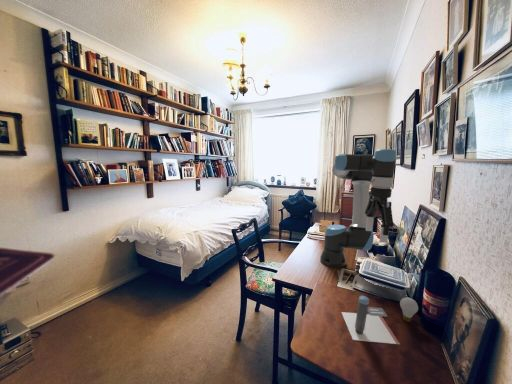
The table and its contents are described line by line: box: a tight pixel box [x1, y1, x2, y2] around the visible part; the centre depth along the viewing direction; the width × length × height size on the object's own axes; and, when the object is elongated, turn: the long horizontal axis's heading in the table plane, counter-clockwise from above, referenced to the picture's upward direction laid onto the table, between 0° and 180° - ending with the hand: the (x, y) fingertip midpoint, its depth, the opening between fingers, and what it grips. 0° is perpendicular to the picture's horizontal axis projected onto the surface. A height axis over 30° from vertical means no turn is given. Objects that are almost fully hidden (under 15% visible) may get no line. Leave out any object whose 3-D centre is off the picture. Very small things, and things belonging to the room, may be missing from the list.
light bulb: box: [399, 296, 419, 323], centre depth 86 cm, size 6×6×10 cm
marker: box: [355, 295, 370, 334], centre depth 79 cm, size 3×3×14 cm
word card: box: [367, 306, 389, 318], centre depth 91 cm, size 5×7×1 cm
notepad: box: [341, 311, 401, 345], centre depth 83 cm, size 14×16×1 cm
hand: (375, 236), depth 92 cm, fingers open, 13 cm apart
